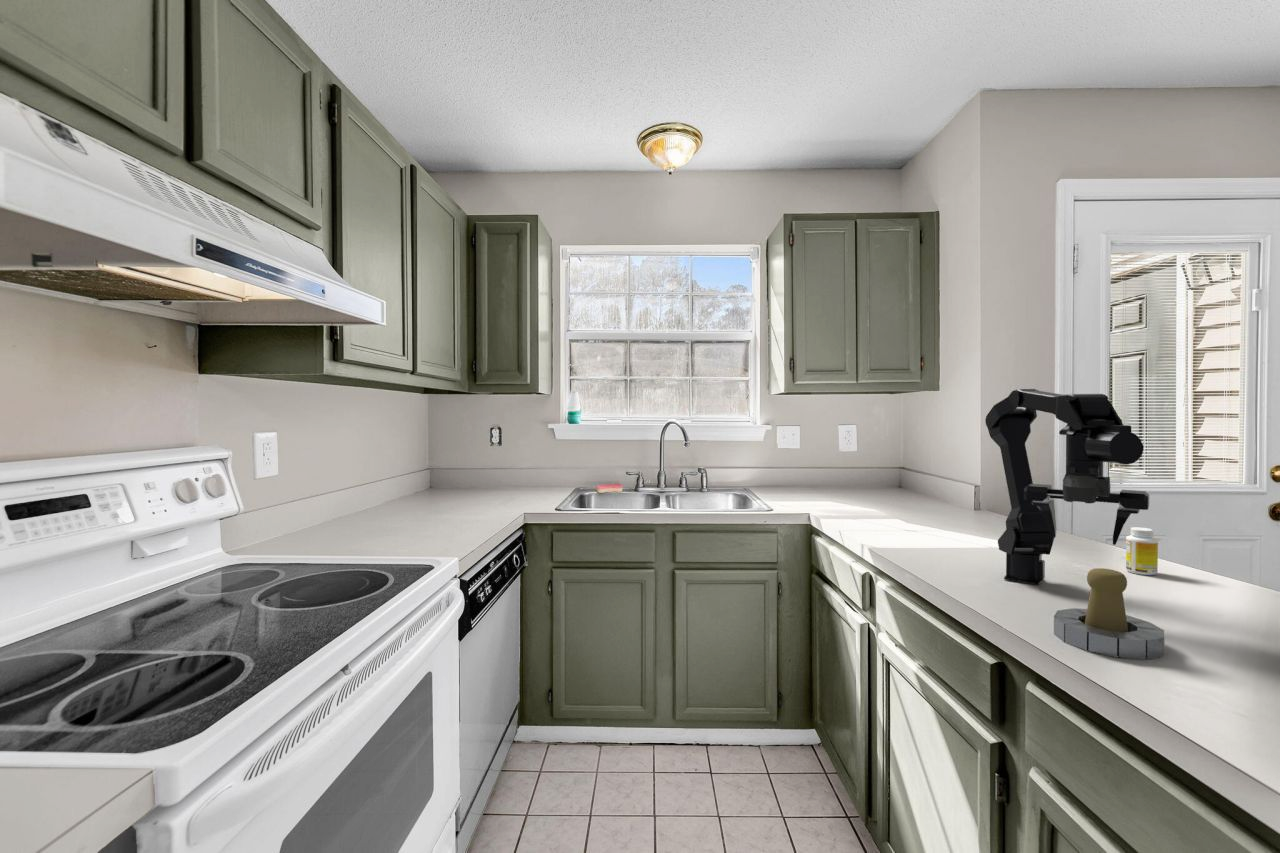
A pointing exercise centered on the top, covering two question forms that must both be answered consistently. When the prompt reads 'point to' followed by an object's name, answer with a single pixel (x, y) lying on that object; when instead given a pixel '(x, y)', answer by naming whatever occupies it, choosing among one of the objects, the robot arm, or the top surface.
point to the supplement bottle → (1142, 552)
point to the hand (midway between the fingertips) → (1083, 540)
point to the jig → (1110, 636)
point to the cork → (1106, 600)
